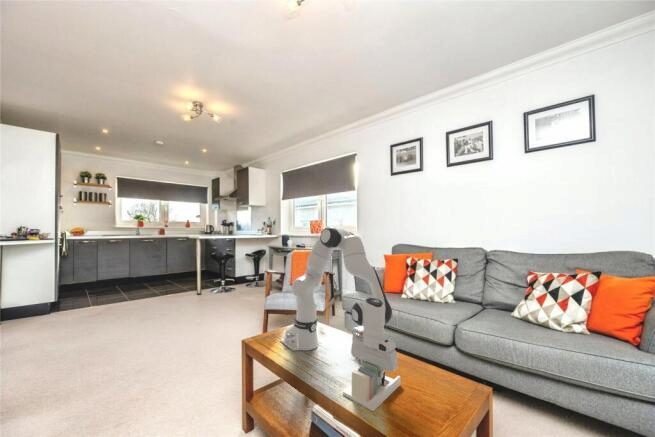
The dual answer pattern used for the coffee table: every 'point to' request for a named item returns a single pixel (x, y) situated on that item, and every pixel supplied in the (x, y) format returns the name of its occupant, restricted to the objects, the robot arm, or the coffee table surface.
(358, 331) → the small box
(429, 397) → the coffee table surface
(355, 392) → the slotted holder
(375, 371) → the sage green cuboid
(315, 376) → the coffee table surface
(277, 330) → the coffee table surface
